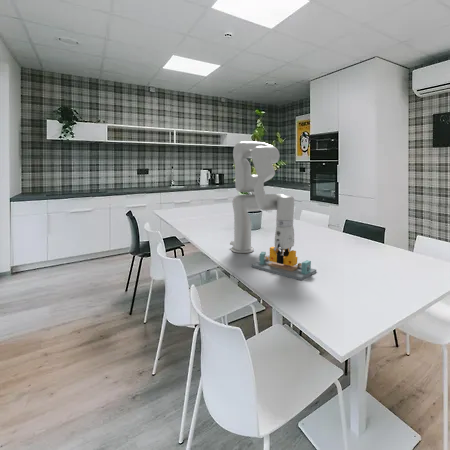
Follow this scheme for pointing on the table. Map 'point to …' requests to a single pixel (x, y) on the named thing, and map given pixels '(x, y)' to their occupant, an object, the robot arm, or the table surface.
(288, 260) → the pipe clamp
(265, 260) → the short metal cylinder
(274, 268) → the stand
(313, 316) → the table surface
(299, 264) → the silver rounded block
